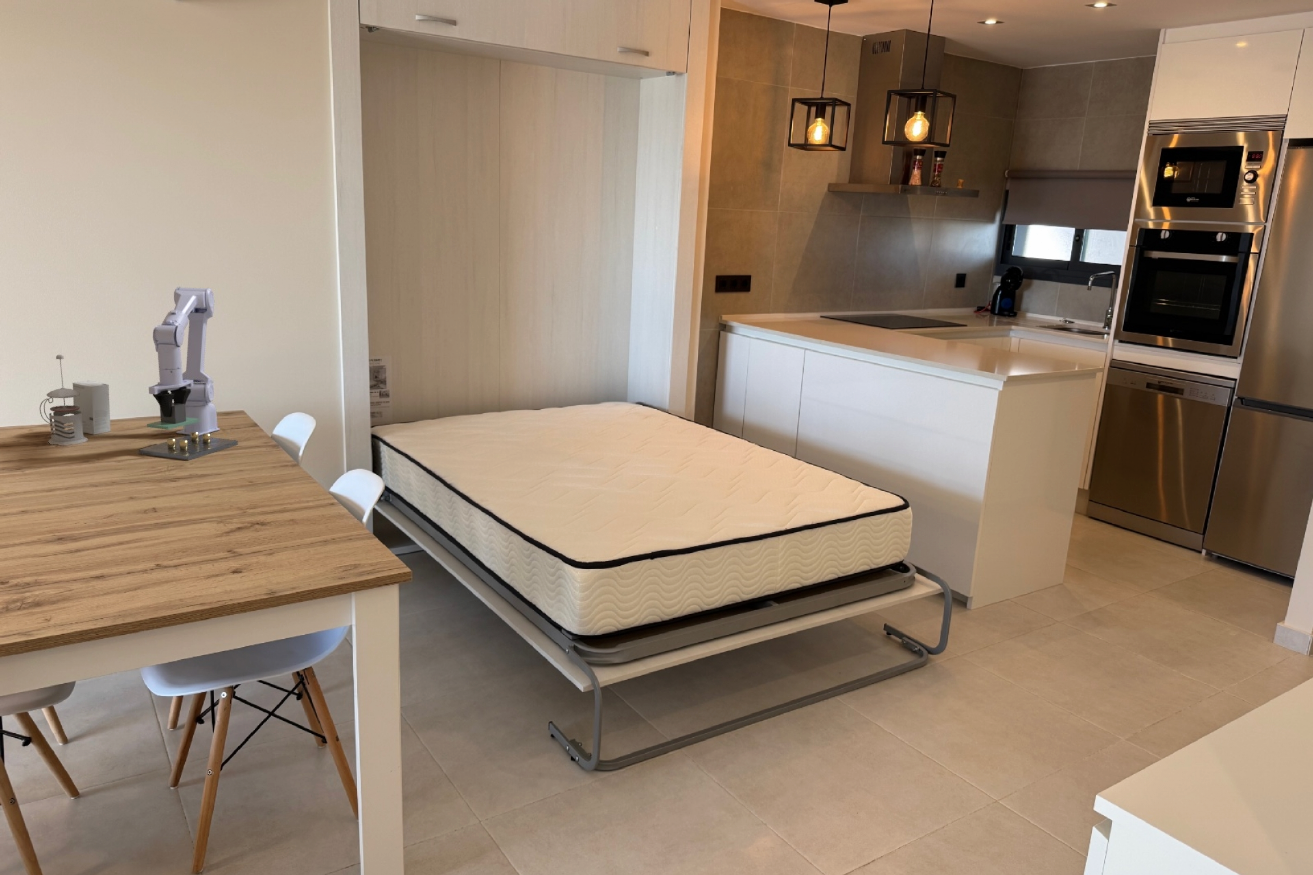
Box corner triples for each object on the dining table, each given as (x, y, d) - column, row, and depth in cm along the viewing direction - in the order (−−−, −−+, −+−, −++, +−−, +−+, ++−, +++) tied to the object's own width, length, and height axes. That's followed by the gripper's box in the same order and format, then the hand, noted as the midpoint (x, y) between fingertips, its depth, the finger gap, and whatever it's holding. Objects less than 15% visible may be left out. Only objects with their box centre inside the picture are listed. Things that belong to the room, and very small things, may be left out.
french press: (73, 445, 253) (65, 358, 248) (32, 443, 254) (23, 355, 248) (95, 438, 263) (88, 353, 257) (56, 435, 263) (47, 350, 257)
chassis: (191, 438, 268) (190, 426, 267) (237, 444, 265) (237, 432, 264) (138, 453, 249) (137, 440, 248) (188, 460, 246) (187, 447, 245)
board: (179, 419, 263) (177, 399, 262) (199, 421, 261) (198, 402, 260) (147, 427, 252) (145, 406, 250) (168, 429, 250) (166, 409, 249)
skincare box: (74, 431, 269) (69, 382, 265) (92, 427, 274) (88, 379, 271) (94, 435, 266) (90, 385, 263) (113, 431, 272) (109, 382, 268)
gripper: (177, 363, 261) (180, 409, 264) (138, 370, 247) (141, 418, 250) (198, 365, 259) (201, 411, 262) (159, 372, 245) (163, 421, 248)
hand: (173, 415), depth 256 cm, fingers closed on board, 4 cm apart
